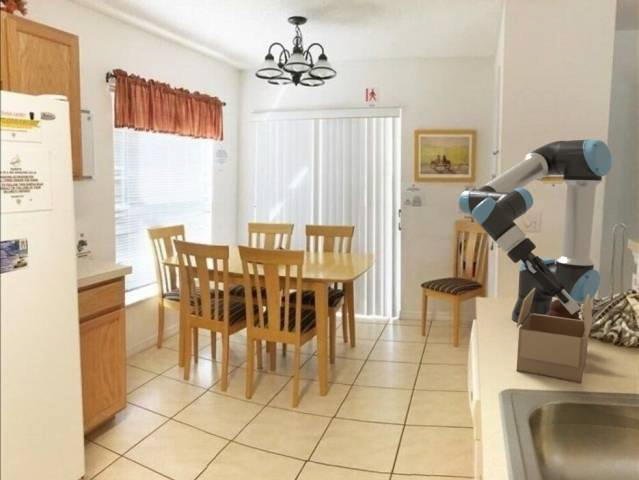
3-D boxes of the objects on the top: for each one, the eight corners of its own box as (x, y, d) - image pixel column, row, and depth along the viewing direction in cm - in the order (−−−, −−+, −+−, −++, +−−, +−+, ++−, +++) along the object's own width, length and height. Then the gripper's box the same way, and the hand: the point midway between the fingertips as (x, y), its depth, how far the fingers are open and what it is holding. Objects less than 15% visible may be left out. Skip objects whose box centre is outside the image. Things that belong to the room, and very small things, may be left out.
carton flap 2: (587, 294, 153) (589, 294, 153) (590, 321, 153) (592, 321, 153) (582, 307, 138) (584, 307, 138) (585, 337, 138) (588, 337, 138)
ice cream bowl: (542, 351, 164) (545, 303, 162) (541, 340, 175) (544, 295, 173) (580, 355, 161) (584, 306, 159) (577, 344, 171) (580, 298, 169)
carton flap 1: (529, 312, 162) (527, 312, 162) (535, 288, 160) (533, 287, 160) (518, 327, 146) (516, 326, 147) (525, 300, 145) (523, 300, 145)
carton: (528, 351, 164) (530, 313, 162) (586, 361, 156) (589, 321, 154) (515, 371, 147) (518, 329, 146) (580, 384, 139) (584, 339, 138)
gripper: (510, 250, 160) (567, 313, 154) (500, 256, 149) (561, 324, 143) (530, 234, 156) (589, 298, 150) (522, 239, 145) (585, 308, 139)
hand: (576, 311), depth 146 cm, fingers closed
